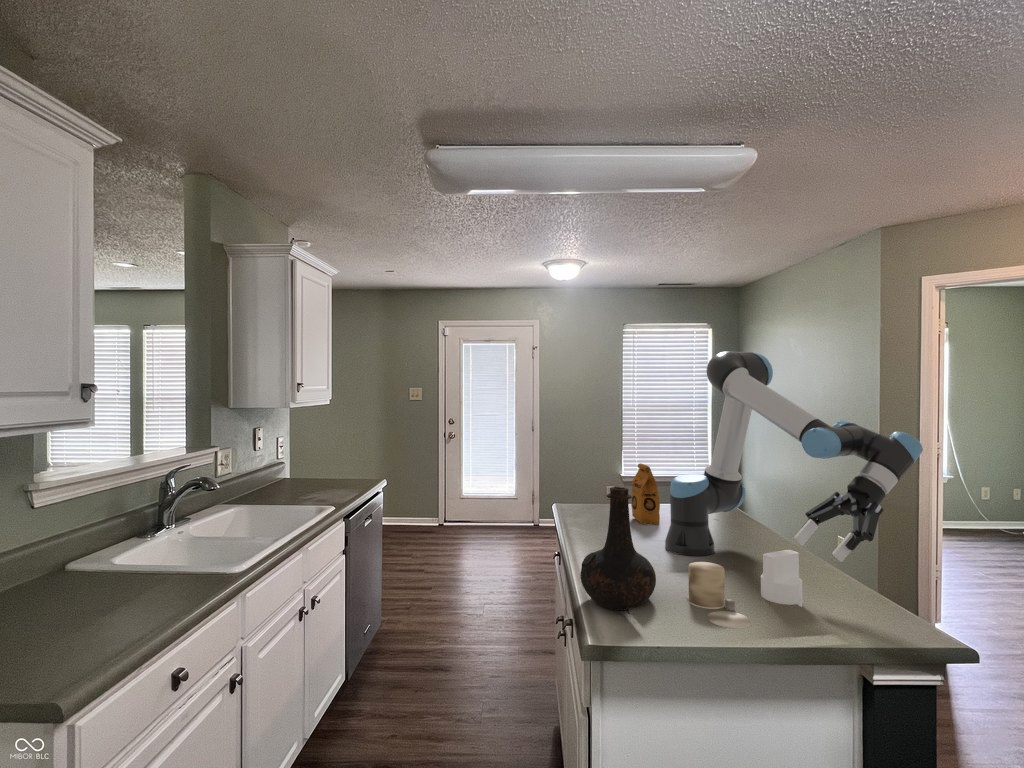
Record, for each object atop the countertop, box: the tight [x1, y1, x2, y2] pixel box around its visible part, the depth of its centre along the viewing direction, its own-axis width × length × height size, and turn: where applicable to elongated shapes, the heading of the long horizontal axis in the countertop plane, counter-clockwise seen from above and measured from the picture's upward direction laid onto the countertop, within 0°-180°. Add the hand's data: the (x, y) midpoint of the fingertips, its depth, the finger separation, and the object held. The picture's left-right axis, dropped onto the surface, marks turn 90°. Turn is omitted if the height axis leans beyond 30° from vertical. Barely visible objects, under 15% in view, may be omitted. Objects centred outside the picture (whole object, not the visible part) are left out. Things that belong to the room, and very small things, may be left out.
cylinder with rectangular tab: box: [760, 549, 803, 608], centre depth 132 cm, size 9×9×12 cm
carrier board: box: [686, 595, 753, 629], centre depth 125 cm, size 21×21×3 cm
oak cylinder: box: [688, 561, 726, 608], centre depth 130 cm, size 8×8×8 cm
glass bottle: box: [579, 486, 657, 611], centre depth 133 cm, size 18×18×28 cm
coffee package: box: [630, 462, 661, 525], centre depth 214 cm, size 10×12×22 cm
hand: (816, 549), depth 133 cm, fingers open, 13 cm apart
